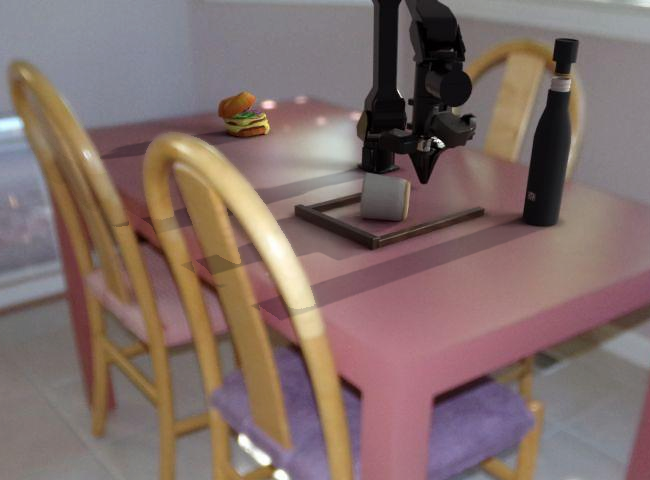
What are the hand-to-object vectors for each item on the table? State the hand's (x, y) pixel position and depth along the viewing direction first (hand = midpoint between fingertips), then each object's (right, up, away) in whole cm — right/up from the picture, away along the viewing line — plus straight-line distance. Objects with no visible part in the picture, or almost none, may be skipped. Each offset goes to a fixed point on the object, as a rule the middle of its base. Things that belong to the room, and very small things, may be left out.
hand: (423, 183), depth 144 cm
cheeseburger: (-40, +22, +41) cm, 61 cm away
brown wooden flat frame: (-6, -6, -3) cm, 9 cm away
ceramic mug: (-7, -7, -3) cm, 10 cm away
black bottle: (+21, -7, -1) cm, 22 cm away
